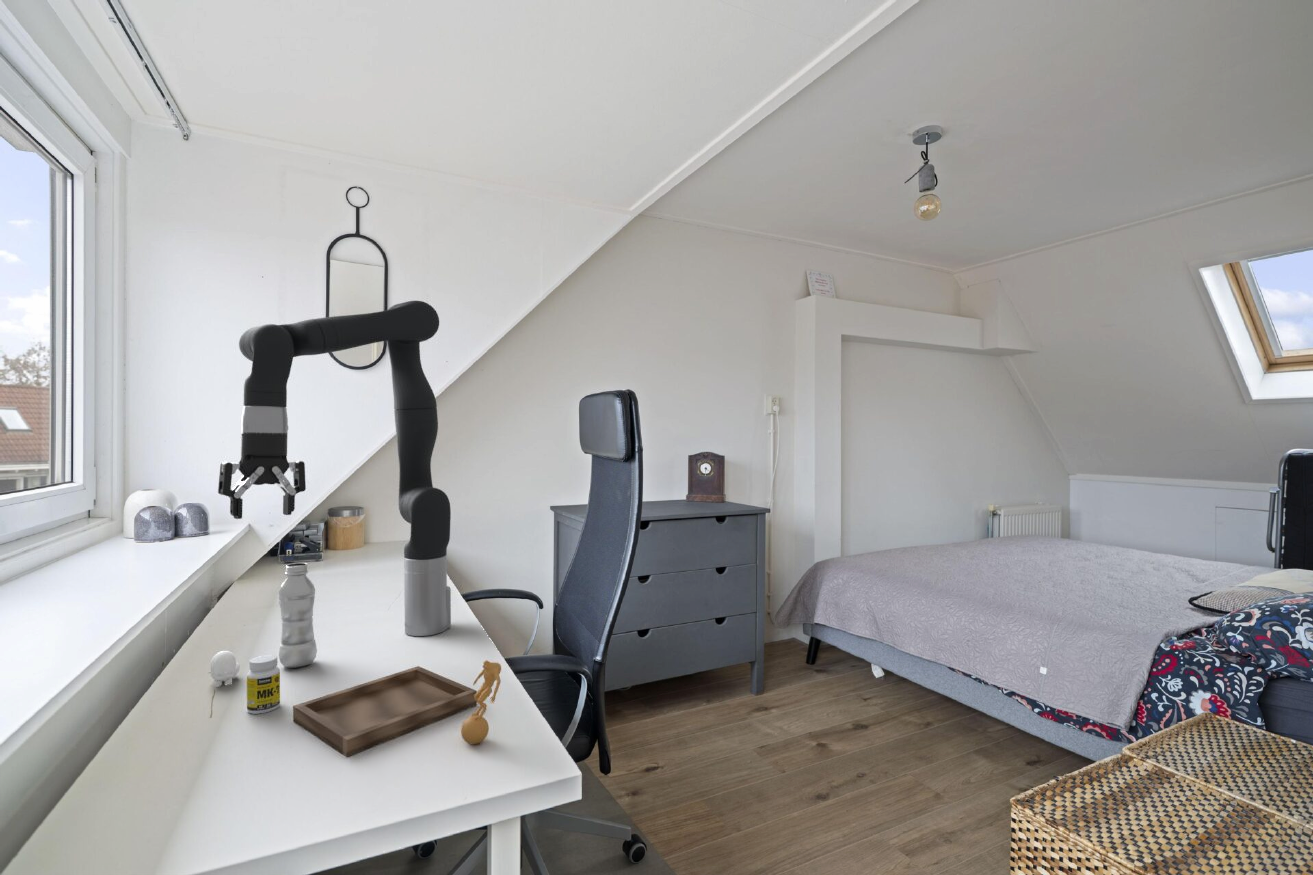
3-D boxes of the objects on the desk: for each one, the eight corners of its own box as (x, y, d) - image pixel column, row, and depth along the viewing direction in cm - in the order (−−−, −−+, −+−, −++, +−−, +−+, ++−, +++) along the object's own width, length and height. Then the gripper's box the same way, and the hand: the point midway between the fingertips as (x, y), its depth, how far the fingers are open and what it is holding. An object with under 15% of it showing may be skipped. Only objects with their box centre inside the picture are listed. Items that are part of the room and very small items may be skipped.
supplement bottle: (256, 717, 106) (255, 665, 106) (241, 710, 108) (240, 660, 108) (286, 706, 110) (285, 656, 110) (271, 700, 113) (270, 651, 112)
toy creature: (205, 692, 116) (205, 657, 116) (214, 676, 123) (214, 643, 123) (235, 687, 118) (235, 653, 118) (243, 672, 125) (242, 640, 125)
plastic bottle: (301, 672, 125) (299, 568, 124) (270, 670, 126) (269, 567, 126) (324, 660, 131) (323, 561, 131) (295, 658, 132) (294, 560, 132)
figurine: (453, 735, 100) (453, 657, 99) (491, 725, 103) (491, 649, 103) (470, 758, 93) (470, 674, 92) (511, 746, 96) (510, 665, 96)
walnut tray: (418, 679, 121) (418, 665, 121) (476, 705, 110) (476, 690, 110) (293, 721, 104) (292, 705, 104) (347, 757, 93) (346, 739, 93)
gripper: (295, 431, 131) (294, 512, 131) (214, 430, 120) (212, 517, 120) (312, 431, 127) (311, 515, 127) (229, 430, 115) (227, 521, 115)
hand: (263, 516), depth 123 cm, fingers open, 8 cm apart
